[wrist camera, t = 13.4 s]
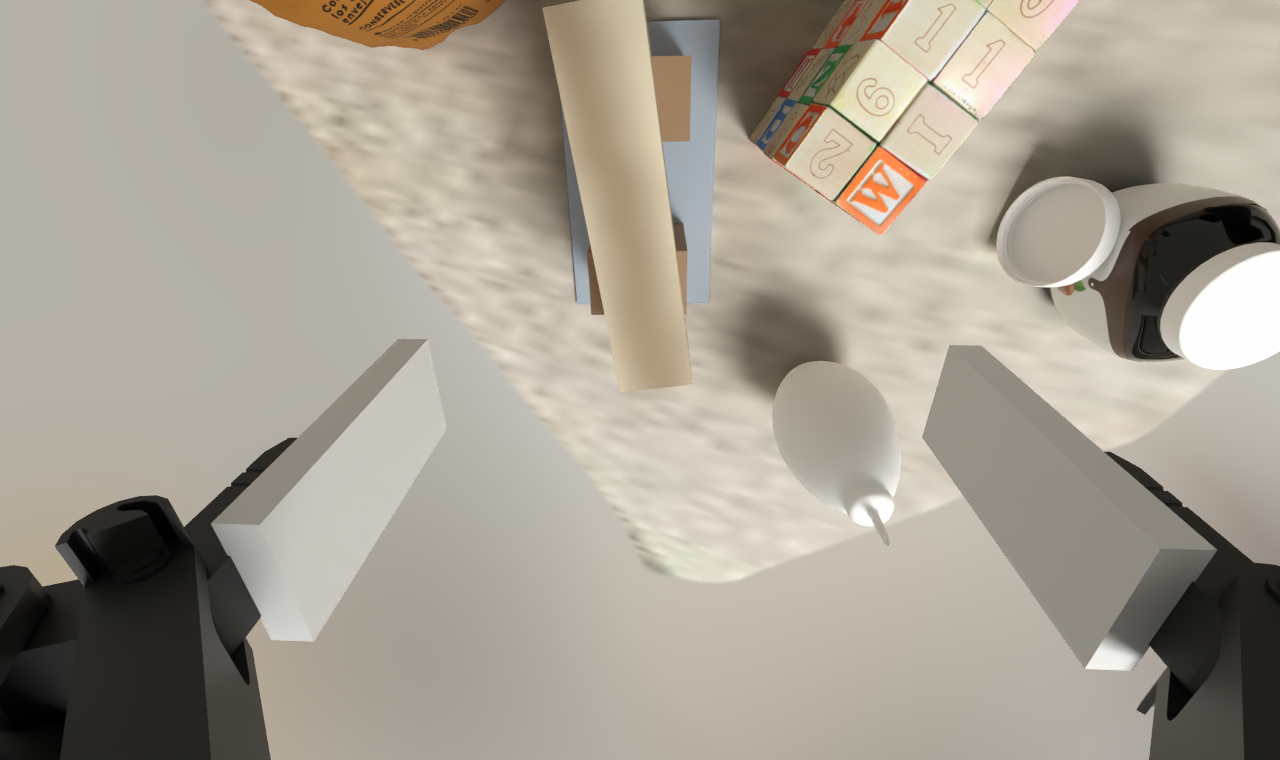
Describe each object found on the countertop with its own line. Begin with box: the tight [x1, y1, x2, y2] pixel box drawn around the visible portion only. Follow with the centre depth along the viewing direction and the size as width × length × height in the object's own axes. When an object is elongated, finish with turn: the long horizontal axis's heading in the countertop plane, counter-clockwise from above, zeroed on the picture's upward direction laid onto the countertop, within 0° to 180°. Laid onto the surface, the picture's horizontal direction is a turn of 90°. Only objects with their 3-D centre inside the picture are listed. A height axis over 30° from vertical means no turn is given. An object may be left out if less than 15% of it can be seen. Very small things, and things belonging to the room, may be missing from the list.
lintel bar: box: [542, 0, 692, 393], centre depth 29 cm, size 4×18×6 cm, turn 9°
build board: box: [560, 19, 720, 315], centre depth 34 cm, size 10×18×7 cm, turn 1°
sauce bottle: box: [772, 361, 901, 547], centre depth 37 cm, size 8×8×18 cm
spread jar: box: [996, 176, 1280, 370], centre depth 34 cm, size 12×11×12 cm
